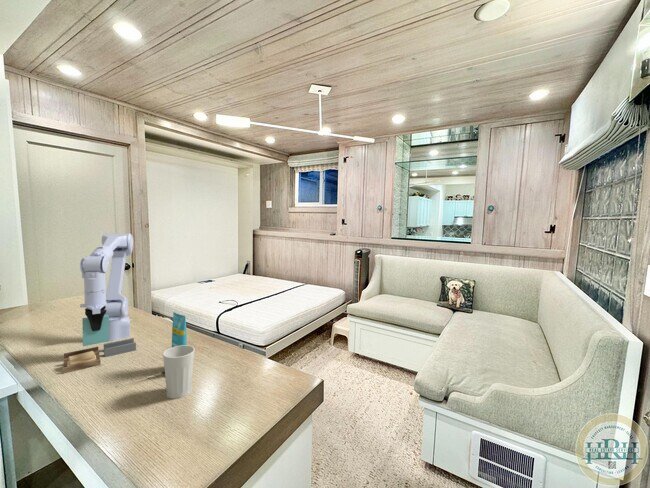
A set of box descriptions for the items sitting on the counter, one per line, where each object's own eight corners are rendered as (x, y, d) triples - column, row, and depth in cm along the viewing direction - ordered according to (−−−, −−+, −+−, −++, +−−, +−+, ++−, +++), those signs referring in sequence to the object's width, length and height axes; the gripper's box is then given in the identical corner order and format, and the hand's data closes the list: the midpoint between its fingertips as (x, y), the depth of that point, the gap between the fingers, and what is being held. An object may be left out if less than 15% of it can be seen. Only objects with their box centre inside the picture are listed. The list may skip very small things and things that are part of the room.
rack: (98, 353, 101) (98, 345, 101) (100, 367, 92) (100, 358, 91) (64, 360, 95) (64, 352, 95) (63, 376, 86) (62, 367, 85)
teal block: (108, 339, 101) (108, 314, 100) (108, 341, 99) (108, 316, 98) (82, 343, 96) (82, 318, 96) (82, 346, 94) (82, 320, 94)
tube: (165, 371, 91) (165, 313, 89) (179, 365, 95) (179, 309, 94) (179, 378, 87) (179, 317, 86) (193, 371, 91) (193, 313, 90)
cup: (187, 381, 85) (187, 342, 85) (199, 391, 80) (199, 350, 80) (158, 392, 79) (158, 351, 79) (170, 404, 74) (170, 360, 74)
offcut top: (92, 355, 94) (92, 350, 94) (95, 358, 92) (94, 353, 92) (68, 361, 89) (68, 356, 89) (70, 364, 87) (70, 359, 87)
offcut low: (95, 360, 94) (95, 354, 94) (96, 364, 92) (96, 358, 92) (67, 366, 90) (67, 361, 90) (67, 371, 87) (67, 365, 87)
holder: (133, 346, 108) (133, 337, 108) (136, 352, 103) (136, 343, 102) (103, 352, 102) (103, 343, 102) (105, 360, 97) (105, 350, 96)
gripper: (79, 288, 99) (80, 325, 100) (79, 296, 88) (80, 338, 89) (105, 285, 104) (105, 321, 105) (107, 293, 93) (108, 333, 94)
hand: (96, 329), depth 97 cm, fingers closed on teal block, 3 cm apart
